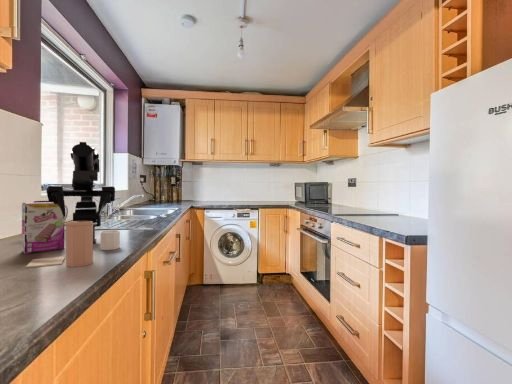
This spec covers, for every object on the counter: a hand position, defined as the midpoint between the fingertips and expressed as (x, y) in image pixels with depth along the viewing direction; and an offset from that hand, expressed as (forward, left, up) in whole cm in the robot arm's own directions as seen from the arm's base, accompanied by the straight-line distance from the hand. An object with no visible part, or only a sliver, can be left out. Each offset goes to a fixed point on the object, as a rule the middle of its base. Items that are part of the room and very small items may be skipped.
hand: (81, 215), depth 89 cm
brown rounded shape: (+8, 0, -13) cm, 15 cm away
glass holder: (-44, -14, -13) cm, 48 cm away
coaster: (+3, -9, -13) cm, 16 cm away
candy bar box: (-15, -12, -13) cm, 23 cm away
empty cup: (-10, +8, -13) cm, 18 cm away
